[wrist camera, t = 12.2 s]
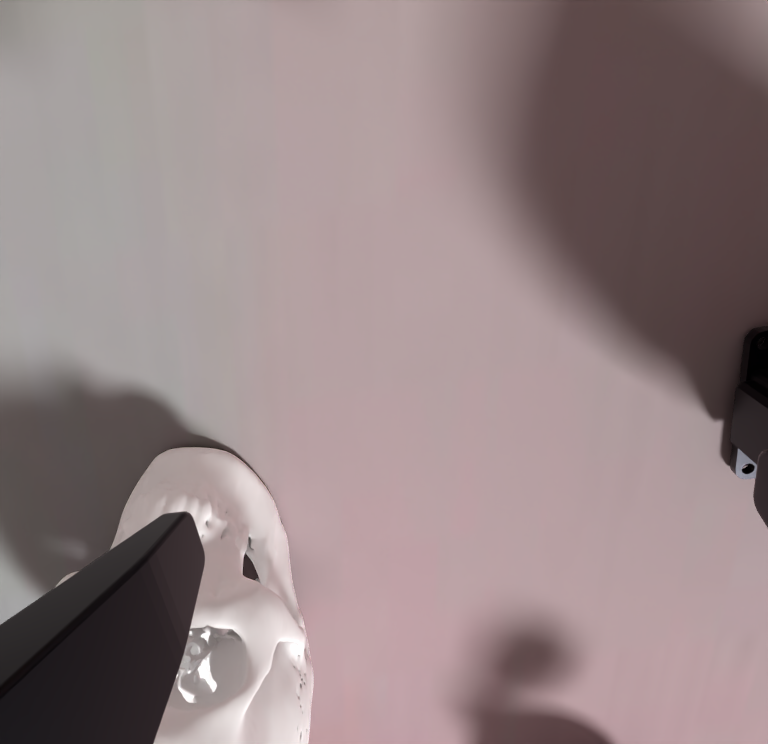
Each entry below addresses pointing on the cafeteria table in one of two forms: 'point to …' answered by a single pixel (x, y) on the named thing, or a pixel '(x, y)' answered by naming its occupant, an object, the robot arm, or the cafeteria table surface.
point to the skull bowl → (230, 606)
